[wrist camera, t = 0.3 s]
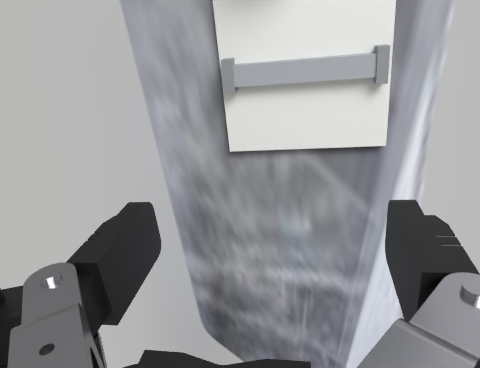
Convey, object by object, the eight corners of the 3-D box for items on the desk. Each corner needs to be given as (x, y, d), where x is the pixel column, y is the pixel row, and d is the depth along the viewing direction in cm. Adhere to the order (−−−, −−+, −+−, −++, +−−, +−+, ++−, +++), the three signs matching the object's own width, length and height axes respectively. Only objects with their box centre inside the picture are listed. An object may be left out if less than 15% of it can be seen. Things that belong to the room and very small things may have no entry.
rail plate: (213, -15, 34) (206, -17, 32) (396, -38, 31) (402, -42, 29) (231, 148, 41) (227, 156, 38) (384, 142, 38) (388, 150, 35)
